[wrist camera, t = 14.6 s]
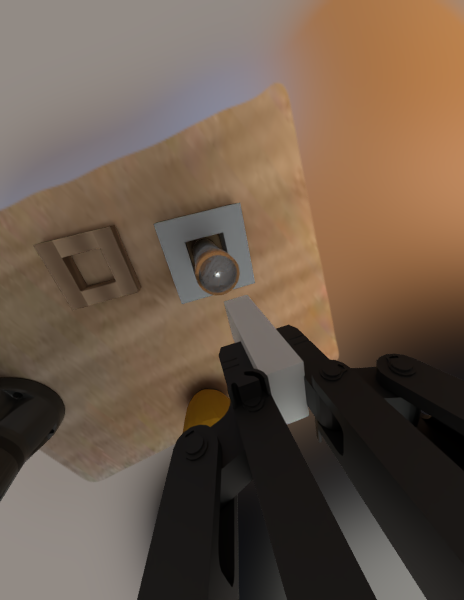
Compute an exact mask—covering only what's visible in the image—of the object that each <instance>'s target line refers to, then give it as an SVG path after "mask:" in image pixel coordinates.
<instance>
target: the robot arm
mask: <svg viewBox="0 0 464 600" xmlns="http://www.w3.org/2000/svg"><path fill="white" fill-rule="evenodd" d="M224 305H225V309H226V312H227V316H228V320H229V324H230V328H231V331H232V335H233V339H234V341H235V343H234V344H231V345H227V346H224V347H221V349H220V353H219V358H220V362H221V365H222V369H223V373H224V376H225V380H226V383H227V387H228V394H229V397H230V400H231V401H230V406H229V409H228V411H227V412H226V414H225V415H224V416H223V417H222V418H221V419H220V420H219V421H218V422H216V423H215V424H214V425H212V426H211V427H209V426H208V425H196V426H193V427H190V428H189V429H188V430H186V431H185V432H183V434H182V435H181V436H180V437H179V439H178V440H177V442H176V444H175V447H174V449H173V454H172V457H171V462H170V466H169V470H168V474H167V478H166V482H165V486H164V490H163V495H162V499H161V503H160V507H159V511H158V515H157V519H156V524H155V528H154V532H153V536H152V541H151V544H150V548H149V553H148V557H147V561H146V565H145V569H144V574H143V577H142V582H141V586H140V591H139V594H138V598H137V600H239V570H238V569H239V568H238V496H237V494H238V493H239V492H240V491H241V490H242V489H243V488H244V487H245V486H246V485H247V484H248V483H249V482H250V481H252V480H254V484H255V488H256V491H257V495H258V498H259V502H260V505H261V509H262V512H263V516H264V519H265V523H266V526H267V530H268V533H269V537H270V541H271V544H272V547H273V551H274V555H275V558H276V562H277V566H278V569H279V573H280V576H281V579H282V583H283V587H284V590H285V594H286V597H287V600H377V599H376V597H375V595H374V593H373V591H372V590H371V587H370V585H369V583H368V582H367V580H366V578H365V576H364V574H363V572H362V570H361V568H360V566H359V564H358V562H357V561H356V558H355V556H354V554H353V552H352V550H351V549H350V547H349V545H348V543H347V541H346V539H345V537H344V535H343V533H342V531H341V529H340V527H339V525H338V523H337V521H336V519H335V517H334V516H333V514H332V512H331V510H330V508H329V506H328V504H327V502H326V500H325V498H324V496H323V494H322V492H321V490H320V488H319V486H318V484H317V482H316V481H315V479H314V477H313V475H312V473H311V471H310V469H309V467H308V465H307V463H306V461H305V459H304V458H303V455H302V454H301V452H300V449H299V448H298V445H297V444H296V442H295V440H294V438H293V436H292V434H291V432H290V430H289V428H288V426H287V424H289V423H292V422H294V421H297V420H300V419H302V418H305V417H307V416H309V411H308V407H309V408H310V410H311V411H312V413H313V414H314V416H315V423H316V435H317V439H318V441H319V442H322V437H321V435H322V436H323V438H324V439H325V441H326V443H327V444H328V446H329V447H330V449H331V451H332V452H333V453H334V455H335V457H336V458H337V460H338V461H339V463H340V464H341V466H342V467H343V469H344V471H345V472H346V474H347V476H348V477H349V479H350V480H351V482H352V483H353V485H354V486H355V488H356V490H357V491H358V493H359V494H360V496H361V497H362V499H363V500H364V502H365V504H366V505H367V507H368V508H369V510H370V511H371V513H372V515H373V516H374V518H375V519H376V521H377V522H378V524H379V525H380V527H381V529H382V530H383V532H384V533H385V535H386V536H387V538H388V539H389V541H390V543H391V544H392V546H393V547H394V549H395V550H396V552H397V554H398V555H399V557H400V558H401V560H402V561H403V563H404V564H405V566H406V568H407V569H408V571H409V572H410V574H411V575H412V577H413V578H414V580H415V581H416V583H417V585H418V586H419V588H420V589H421V591H422V592H423V594H424V596H425V597H426V599H427V600H464V381H463V380H461V379H459V378H457V377H454V376H452V375H450V374H448V373H445V372H443V371H441V370H439V369H436V368H434V367H432V366H430V365H427V364H425V363H423V362H421V361H418V360H416V359H414V358H411V357H408V356H405V355H400V354H386V355H384V356H381V357H380V358H379V359H378V360H377V363H376V367H368V368H350V367H348V366H347V365H345V364H344V363H342V362H339V361H336V360H329V359H328V358H327V357H326V356H325V355H324V354H323V353H322V352H321V351H320V350H319V349H318V348H317V347H316V346H315V345H314V344H313V343H312V342H311V341H309V339H308V338H307V337H306V336H304V334H303V333H302V332H301V331H299V330H298V329H297V328H295V327H293V326H290V325H286V326H283V327H280V328H277V329H275V327H274V326H273V325H272V324H271V323H270V321H269V320H268V319H267V318H266V317H265V315H264V314H263V313H262V312H261V311H260V309H259V308H258V307H257V306H256V305H255V304H254V302H253V301H252V300H251V299H250V298H249V296H248V295H244V296H241V297H238V298H234V299H231V300H228V301H225V302H224ZM421 410H422V411H424V412H426V413H427V414H429V415H425V414H423V413H421ZM64 414H65V409H64V405H63V402H62V401H61V399H60V398H59V396H58V395H57V394H56V393H55V392H53V391H52V390H51V389H49V388H48V387H46V386H44V385H42V384H40V383H37V382H34V381H30V380H26V379H20V378H0V501H1V500H2V498H3V496H4V495H5V493H6V492H7V490H8V488H9V487H10V485H11V484H12V482H13V480H14V479H15V477H16V475H17V474H18V472H19V471H20V469H21V467H22V466H23V464H24V463H25V462H26V461H27V460H28V459H29V458H30V457H31V456H32V455H33V454H34V453H35V452H36V451H37V450H39V449H40V448H41V447H42V446H43V445H44V444H45V443H46V442H47V441H48V440H49V439H50V438H51V437H52V436H53V435H54V434H55V432H56V431H57V429H58V427H59V426H60V424H61V422H62V420H63V418H64Z"/></svg>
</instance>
